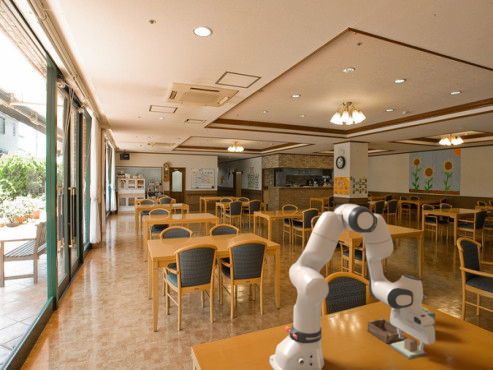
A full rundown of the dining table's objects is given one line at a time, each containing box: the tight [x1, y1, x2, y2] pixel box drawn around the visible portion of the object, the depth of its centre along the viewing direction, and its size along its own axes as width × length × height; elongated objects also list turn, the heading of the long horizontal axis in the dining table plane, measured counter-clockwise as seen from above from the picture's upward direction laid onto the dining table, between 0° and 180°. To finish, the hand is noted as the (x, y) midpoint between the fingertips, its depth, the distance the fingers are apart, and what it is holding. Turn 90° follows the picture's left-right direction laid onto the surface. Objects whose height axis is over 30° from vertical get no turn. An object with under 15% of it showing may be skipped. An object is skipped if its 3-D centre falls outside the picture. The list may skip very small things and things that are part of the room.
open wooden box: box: [367, 318, 404, 345], centre depth 143 cm, size 10×12×5 cm
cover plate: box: [390, 337, 425, 357], centre depth 131 cm, size 9×10×5 cm
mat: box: [387, 343, 429, 360], centre depth 131 cm, size 11×11×1 cm
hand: (410, 343), depth 130 cm, fingers open, 8 cm apart
